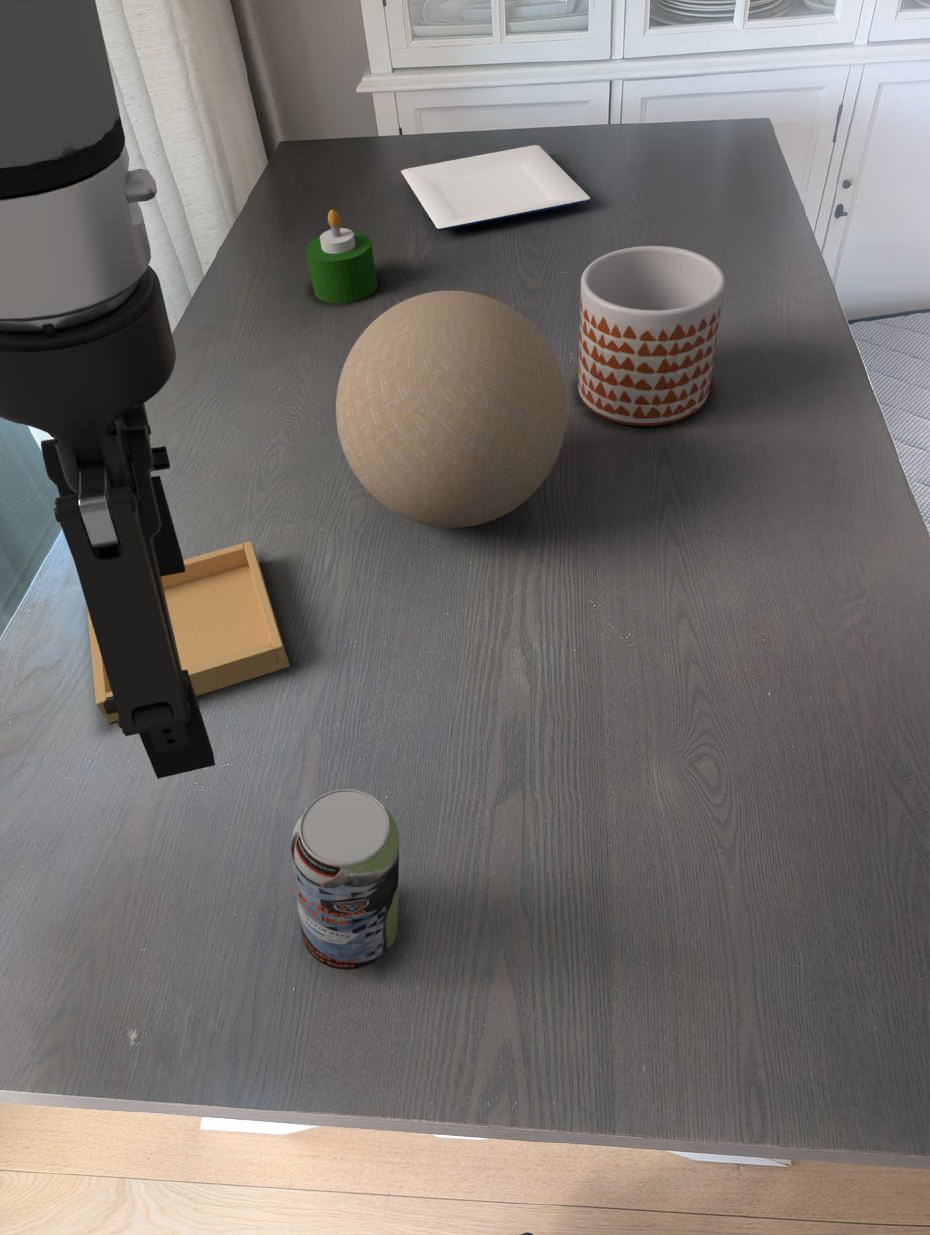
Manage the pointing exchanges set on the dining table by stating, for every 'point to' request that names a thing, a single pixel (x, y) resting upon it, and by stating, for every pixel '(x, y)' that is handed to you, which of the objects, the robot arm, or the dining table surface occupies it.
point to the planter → (648, 334)
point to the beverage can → (346, 878)
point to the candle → (341, 264)
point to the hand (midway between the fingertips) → (172, 660)
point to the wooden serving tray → (214, 623)
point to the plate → (492, 187)
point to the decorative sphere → (451, 409)
